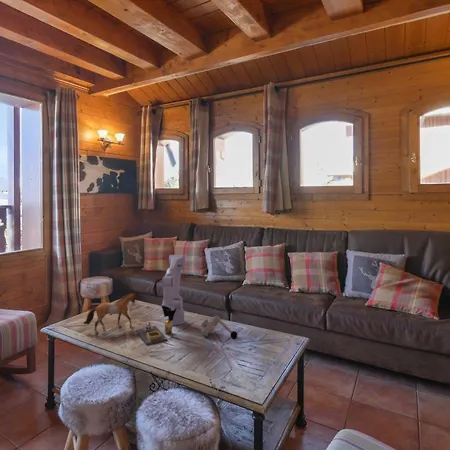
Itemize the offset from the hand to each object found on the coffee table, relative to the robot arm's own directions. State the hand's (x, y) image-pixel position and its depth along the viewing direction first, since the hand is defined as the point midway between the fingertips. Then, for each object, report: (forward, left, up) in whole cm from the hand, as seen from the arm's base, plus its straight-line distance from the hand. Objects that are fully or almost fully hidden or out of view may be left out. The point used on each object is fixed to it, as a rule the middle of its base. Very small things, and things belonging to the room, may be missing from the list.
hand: (168, 318), depth 191 cm
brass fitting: (0, 0, -9) cm, 9 cm away
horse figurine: (+28, -25, -9) cm, 39 cm away
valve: (-25, +18, -10) cm, 32 cm away
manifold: (+10, -2, -9) cm, 14 cm away
